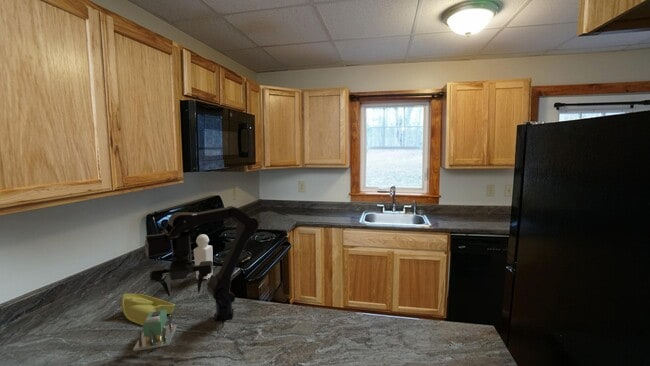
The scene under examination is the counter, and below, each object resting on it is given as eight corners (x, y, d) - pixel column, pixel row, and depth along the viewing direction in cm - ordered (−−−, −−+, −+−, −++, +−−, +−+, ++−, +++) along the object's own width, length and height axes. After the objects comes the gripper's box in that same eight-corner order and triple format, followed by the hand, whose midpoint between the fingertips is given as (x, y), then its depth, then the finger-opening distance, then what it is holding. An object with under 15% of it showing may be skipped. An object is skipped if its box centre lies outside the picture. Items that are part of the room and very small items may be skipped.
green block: (150, 323, 100) (149, 309, 100) (167, 320, 102) (166, 306, 101) (143, 336, 93) (142, 321, 92) (161, 333, 94) (160, 319, 94)
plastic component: (177, 305, 114) (156, 305, 105) (171, 325, 112) (149, 328, 103) (142, 293, 121) (119, 293, 113) (135, 312, 119) (111, 313, 110)
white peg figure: (207, 280, 142) (204, 236, 140) (195, 279, 143) (192, 236, 141) (214, 275, 148) (212, 232, 146) (202, 274, 149) (200, 232, 147)
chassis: (145, 331, 101) (143, 316, 101) (176, 326, 104) (175, 312, 103) (133, 351, 91) (131, 335, 90) (168, 345, 93) (167, 329, 93)
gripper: (142, 261, 89) (146, 310, 90) (207, 254, 93) (210, 301, 95) (153, 250, 99) (156, 293, 101) (211, 244, 104) (214, 286, 106)
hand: (184, 294), depth 100 cm, fingers open, 9 cm apart
